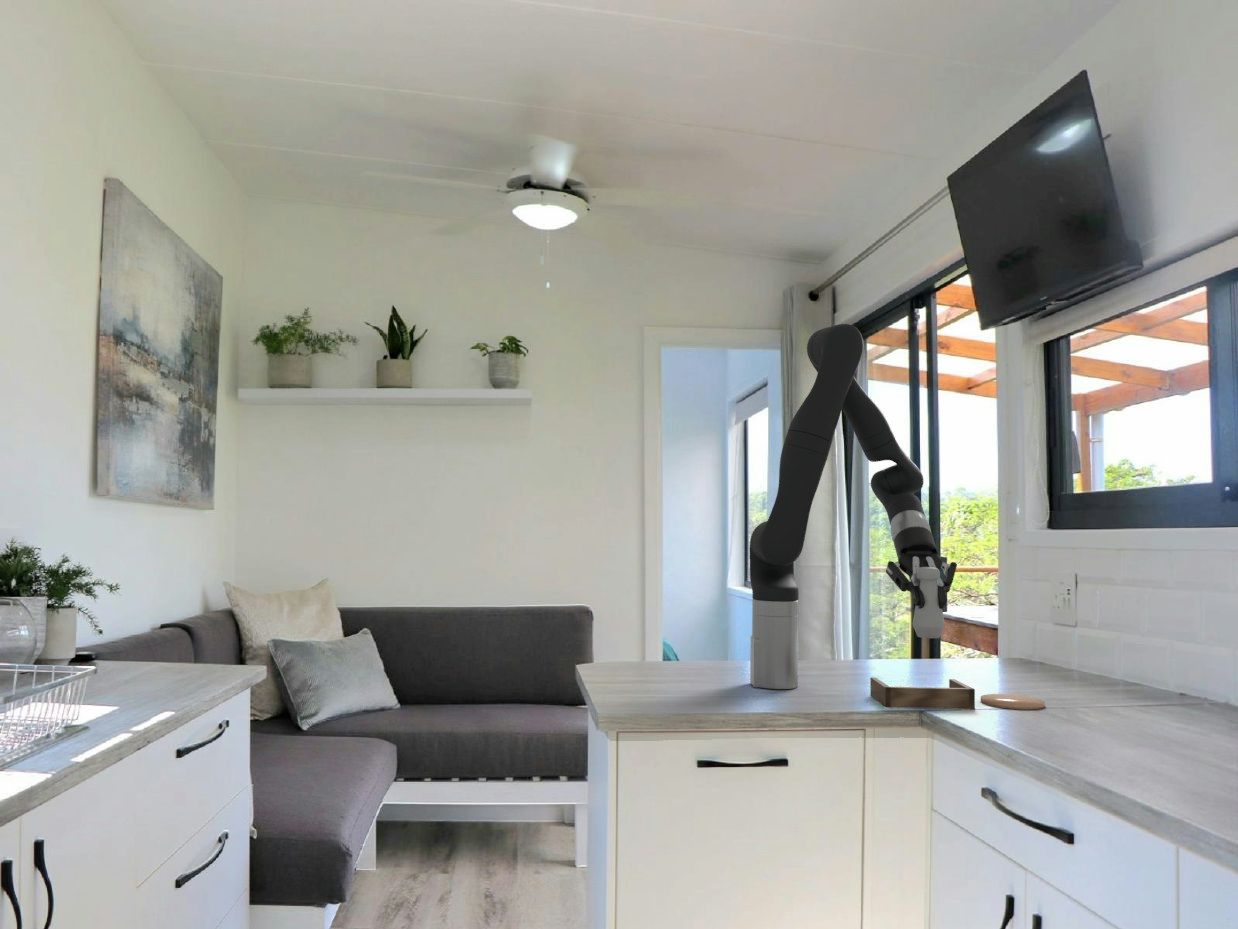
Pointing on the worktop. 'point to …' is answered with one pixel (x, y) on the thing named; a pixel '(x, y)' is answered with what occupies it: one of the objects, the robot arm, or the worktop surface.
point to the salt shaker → (928, 605)
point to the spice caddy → (924, 695)
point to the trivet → (1012, 701)
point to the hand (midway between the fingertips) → (931, 605)
